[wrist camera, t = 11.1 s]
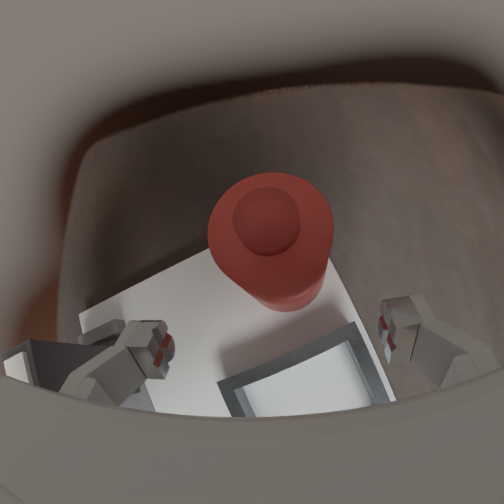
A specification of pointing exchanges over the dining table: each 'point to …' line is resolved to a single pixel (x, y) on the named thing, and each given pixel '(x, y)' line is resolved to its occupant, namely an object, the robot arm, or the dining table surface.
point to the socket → (348, 334)
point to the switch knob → (47, 362)
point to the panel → (235, 343)
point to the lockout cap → (273, 239)
